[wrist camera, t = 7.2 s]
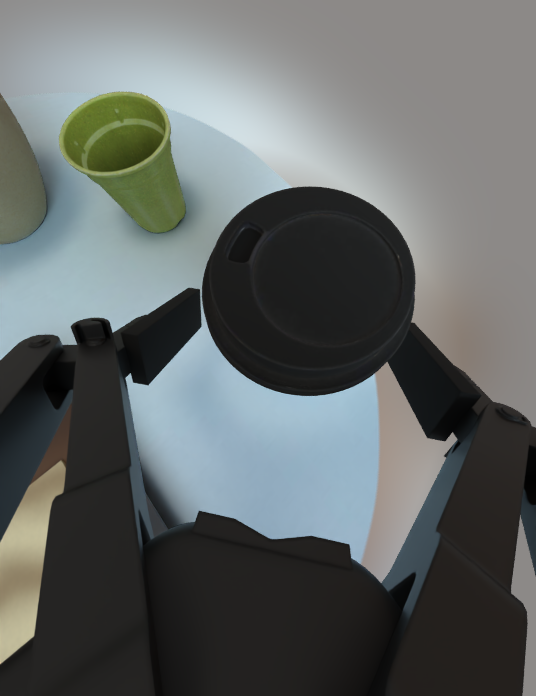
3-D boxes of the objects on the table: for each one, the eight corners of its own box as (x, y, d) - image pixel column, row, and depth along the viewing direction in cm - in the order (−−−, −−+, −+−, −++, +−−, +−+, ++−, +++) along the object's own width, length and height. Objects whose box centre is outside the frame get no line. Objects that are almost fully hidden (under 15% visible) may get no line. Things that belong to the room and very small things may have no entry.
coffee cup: (241, 311, 25) (192, 177, 10) (330, 307, 24) (411, 163, 10) (242, 402, 22) (182, 400, 8) (340, 398, 22) (466, 387, 8)
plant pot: (193, 174, 29) (160, 81, 21) (207, 235, 27) (176, 158, 19) (120, 191, 29) (56, 103, 21) (128, 254, 27) (60, 185, 18)
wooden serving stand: (237, 607, 19) (226, 664, 15) (62, 783, 16) (-8, 908, 12) (90, 379, 23) (50, 374, 19) (-61, 493, 21) (-140, 514, 17)
